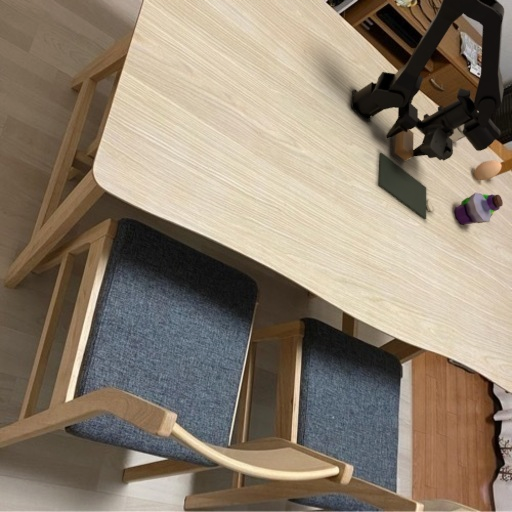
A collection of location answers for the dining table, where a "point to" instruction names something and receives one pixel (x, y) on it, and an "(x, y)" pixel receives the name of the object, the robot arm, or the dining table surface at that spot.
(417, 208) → the chalkboard
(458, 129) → the ink box
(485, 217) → the potion bottle
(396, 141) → the brown rectangular block
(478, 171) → the egg
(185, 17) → the dining table surface
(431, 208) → the beige disc
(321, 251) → the dining table surface
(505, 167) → the supplement box
